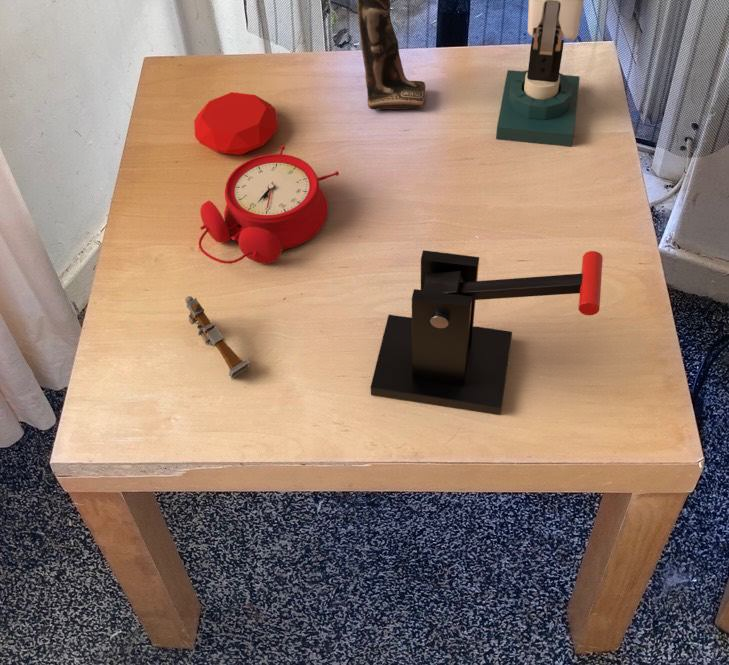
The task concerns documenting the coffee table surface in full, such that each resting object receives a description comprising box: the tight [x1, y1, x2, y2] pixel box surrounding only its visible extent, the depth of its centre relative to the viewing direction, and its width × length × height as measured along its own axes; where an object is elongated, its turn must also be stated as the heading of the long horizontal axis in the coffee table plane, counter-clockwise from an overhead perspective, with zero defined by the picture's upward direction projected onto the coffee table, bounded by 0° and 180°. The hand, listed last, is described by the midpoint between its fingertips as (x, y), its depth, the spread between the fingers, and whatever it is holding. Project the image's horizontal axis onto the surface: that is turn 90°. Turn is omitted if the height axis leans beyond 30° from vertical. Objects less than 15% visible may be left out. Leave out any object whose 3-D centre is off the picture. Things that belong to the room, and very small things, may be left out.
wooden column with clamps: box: [184, 295, 251, 380], centre depth 75 cm, size 2×8×4 cm, turn 40°
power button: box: [524, 72, 560, 100], centre depth 91 cm, size 4×4×2 cm
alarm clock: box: [197, 145, 340, 265], centre depth 83 cm, size 10×6×15 cm
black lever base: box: [369, 249, 513, 416], centre depth 69 cm, size 11×8×12 cm
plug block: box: [495, 69, 581, 147], centre depth 92 cm, size 8×10×4 cm
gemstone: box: [193, 91, 279, 156], centre depth 93 cm, size 9×9×3 cm
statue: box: [356, 0, 426, 111], centre depth 88 cm, size 4×7×20 cm, turn 89°
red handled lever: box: [423, 250, 604, 316], centre depth 64 cm, size 13×5×2 cm, turn 78°
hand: (542, 76), depth 90 cm, fingers closed
